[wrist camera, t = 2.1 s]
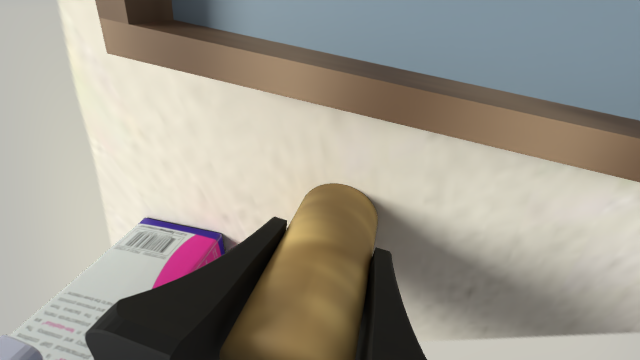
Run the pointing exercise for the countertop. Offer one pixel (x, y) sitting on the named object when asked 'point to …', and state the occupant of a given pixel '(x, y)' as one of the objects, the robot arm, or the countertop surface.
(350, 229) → the peg
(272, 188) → the countertop surface
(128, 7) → the tray
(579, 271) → the countertop surface
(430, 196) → the countertop surface
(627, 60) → the bore plate
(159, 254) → the supplement box
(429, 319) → the countertop surface
